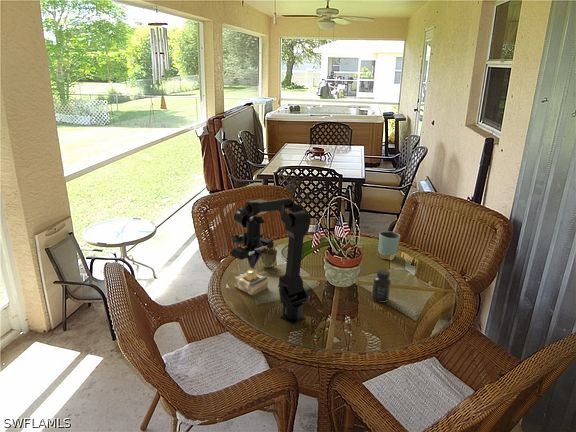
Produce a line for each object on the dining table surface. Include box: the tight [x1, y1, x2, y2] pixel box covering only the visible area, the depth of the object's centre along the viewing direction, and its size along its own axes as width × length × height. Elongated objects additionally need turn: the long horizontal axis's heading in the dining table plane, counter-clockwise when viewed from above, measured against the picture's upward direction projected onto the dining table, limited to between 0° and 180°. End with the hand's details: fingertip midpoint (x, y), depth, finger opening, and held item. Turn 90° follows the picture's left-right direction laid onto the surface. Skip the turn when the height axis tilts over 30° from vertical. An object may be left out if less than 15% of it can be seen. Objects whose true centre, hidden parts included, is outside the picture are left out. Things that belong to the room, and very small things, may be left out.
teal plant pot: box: [377, 230, 401, 255], centre depth 208 cm, size 10×10×12 cm
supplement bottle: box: [371, 269, 392, 302], centre depth 167 cm, size 7×7×12 cm
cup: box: [260, 247, 278, 269], centre depth 188 cm, size 8×7×8 cm
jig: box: [234, 272, 269, 296], centre depth 170 cm, size 10×9×5 cm
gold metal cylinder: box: [246, 268, 258, 282], centre depth 170 cm, size 4×4×7 cm
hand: (252, 267), depth 168 cm, fingers closed
